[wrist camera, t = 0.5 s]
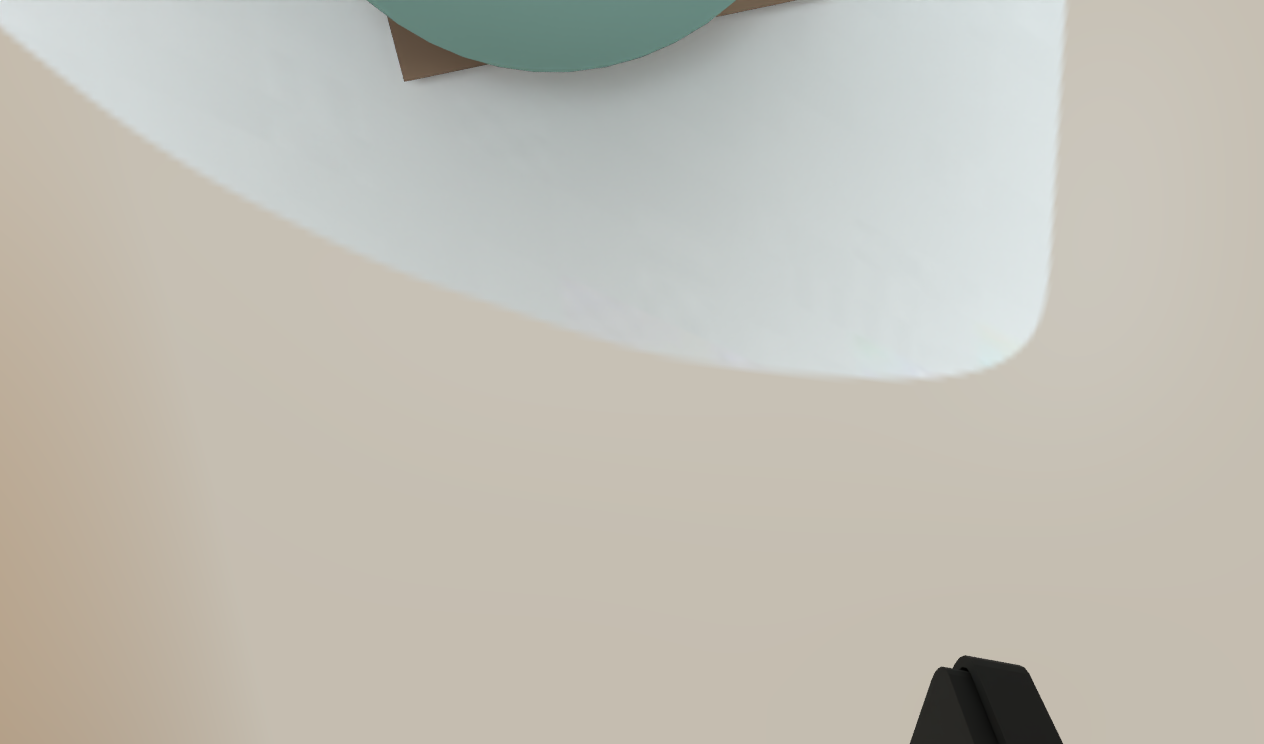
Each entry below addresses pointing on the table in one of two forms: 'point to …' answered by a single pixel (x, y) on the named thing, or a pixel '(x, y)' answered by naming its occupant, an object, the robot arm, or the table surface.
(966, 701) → the robot arm
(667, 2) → the handwheel
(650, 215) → the table surface
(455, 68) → the stand
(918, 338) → the table surface
